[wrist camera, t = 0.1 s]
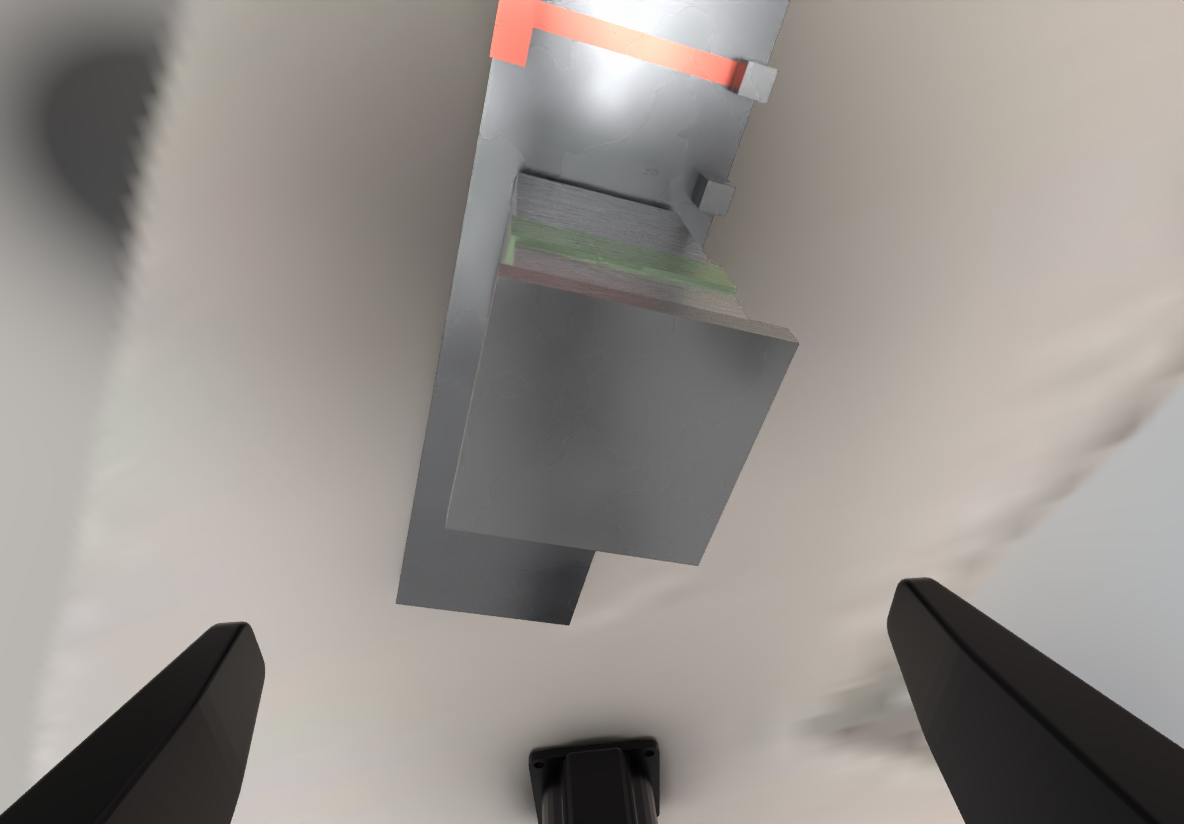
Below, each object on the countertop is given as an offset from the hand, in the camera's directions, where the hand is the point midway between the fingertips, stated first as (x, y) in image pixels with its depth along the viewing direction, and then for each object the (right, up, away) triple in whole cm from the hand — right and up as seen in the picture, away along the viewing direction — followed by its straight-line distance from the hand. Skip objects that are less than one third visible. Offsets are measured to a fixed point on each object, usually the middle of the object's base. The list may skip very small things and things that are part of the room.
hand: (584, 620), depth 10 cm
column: (0, +7, +11) cm, 13 cm away
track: (-1, +5, +14) cm, 15 cm away
